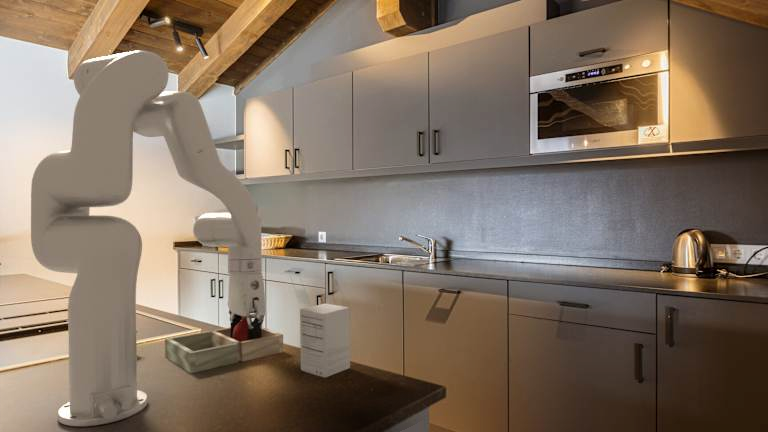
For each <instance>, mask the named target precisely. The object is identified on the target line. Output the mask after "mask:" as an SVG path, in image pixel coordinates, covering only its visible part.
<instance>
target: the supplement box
mask: <svg viewBox="0 0 768 432" xmlns="http://www.w3.org/2000/svg"><path fill="white" fill-rule="evenodd" d="M299 321H300V322H299V328H300V331H299V332H300V333H299V335H300V336H299V338H300V370H301V371H302V372H306V373H307V374H312V375H315V376H317V377H321V378H325V379H326V378H328V377H330V376H333V375H336V374H338V373H341V372H343V371H346V370H349V369H351V340H350V339H351V338H350V337H351V334H350V330H351V329H350V328H351V323H350V307H348V306H343V305H336V304H330V303H322V304H317V305H313V306H309V307H304V308H299Z"/></svg>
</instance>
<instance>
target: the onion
mask: <svg viewBox="0 0 768 432" xmlns="http://www.w3.org/2000/svg"><path fill="white" fill-rule="evenodd" d="M247 329H249V326H248V322H247V318H246V317H243V318H242V320H241V321H240V322H239V323H238V324H237V325H236V326H235V328H234V330H233V339H234V340H237V341H239V342H242V341H247Z"/></svg>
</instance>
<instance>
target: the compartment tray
mask: <svg viewBox="0 0 768 432" xmlns="http://www.w3.org/2000/svg"><path fill="white" fill-rule="evenodd" d="M282 353H284V334H282V333H280V332H277V331H274V330H271V329H269V328H266V327H264V326H262V327H261V338H257V339H252V340H247V341H242V342H239V341H237V340H234V339H232V338H231V326H229V327H224V328H218V329H213V330H212V331H210V330H208V331H201V332H196V333H189V334H184V335H179V336H174V337H168V338H164V358H166V359H168V360H170V361H171V362H173V363H174V364H175V365H177V366H178V367H180V368H182V369H183V370H185V371H186V372H187V373H189V374H195V373H198V372H202V371H206V370H212V369H216V368H220V367H224V366H229V365H232V364H237V363H239V362H240V361H241V362H246V361H247V362H248V361H252V360H254V359H255V360H256V359H259V358H263V357H269V356H272V355H276V354H282Z"/></svg>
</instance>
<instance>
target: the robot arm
mask: <svg viewBox="0 0 768 432" xmlns="http://www.w3.org/2000/svg"><path fill="white" fill-rule="evenodd" d="M168 81H169V68H168V65H167V63H166V62H165V60H164V59H163V58H162V57H161V56H160V55H158V54H157V53H155V52H152V51H147V50H133V51H129V52H128V51H126V52H122V53H116V54H112V55H108V56H101V57H96V58H91V59H87V60H84V61H82V62H81V63H80V64H79V65H78V66H77V67H76V69H75V71H74V74H73V84H74V88H75V90H76V92H77V94H78V95H79V98H78V100H77V102H76V105H75V109H74V113H73V119H72V120H73V121H72V123H73V124H72V132H71V133H72V137H71V147H70V150H62V151H61V150H60V151H57V152H53V153H50V154H49V155H46V156H45V157H44V158H43V159H42V160H40V162H39V163H38V165H37V166H36V167H35V170H34V173H33V175H32V179H31V185H30V186H31V189H30V192H31V193H30V243H31V248H32V253H33V255H34V257H35V258H36V261H37V262H38V263H39V264H40V265H41V266H42V267H44V268H45V269H46V270H50V271H53V272H57V273H58V272H59V273H65V274H76V277H75V280H74V283H73V284H72V287H71V290H70V293H69V297H68V304H67V321H68V322H67V323H68V324H67V326H68V330H67V331H68V333H67V334H68V380H69V381H68V385H69V386H68V387H69V388H68V392H69V393H68V394H69V396H68V397H69V401H68V402H67V403H65V404H63V405H62V406H61V407H60V408H59V409H58V410H57V420H58V422H59V423H61V424H63V425H65V426H69V427H92V426H93V427H94V426H100V425H101V426H102V425H106V424H110V423H113V422H118V421H121V420H124V419H127V418H130V417H132V416H134V415H136V414H137V413H139V412H141V411H142V410H144V409H145V407H146V406H147V405H148V402H149V399H148V395H147V394H146V392H144V391H142V390H139V389H138V364H137V363H138V361H137V357H138V355H137V354H138V353H137V352H138V351H137V350H138V348H137V347H138V345H137V344H138V343H137V341H138V340H137V334H136V330H137V281H138V272H139V268H140V263H141V257H142V252H143V241H142V237H141V233H140V232H139V230H138V229H137V227H136V226H135V225H134V224H133V223H131V222H130V221H128V220H126V219H125V218H122V217H119V216H112V215H99V214H98V215H97V214H96V215H90V211H91V209H90V208H106V207H114V206H119V205H120V204H122V203H124V202H126V201H127V200H128V199H129V197H130V196H131V193H132V190H133V189H132V187H133V179H134V178H133V177H134V176H133V174H134V173H133V171H134V170H133V169H134V168H133V167H134V165H133V159H134V158H133V157H134V156H133V155H134V154H133V153H134V144H133V143H134V134H137V135H139V136H142V137H145V138H157V137H158V138H159V137H163V139H164V140H165V143H166V146H167V147H168V148H167V149H168V150H169V153H170V155H171V158H172V161H173V164H174V166H175V169H176V171H177V174H178V176H179V177H180V178H182V179H183V180H185V181H186V182H189V183H190V184H192V185H194V186H196V187H198V188H199V189H203V190H204V191H206V192H208V193H210V194H212V195H213V196H215V197H216V198H217V199H219V201H220V202H221V203H222V204H223V205H224V206H225V208H226V209H227V211H223V212H221V211H220V212H215V211H214V212H208V213H207V212H206V213H204V214H202V215H200V216H199V217H198V218H197V219H195V222H194V223H193V228H192V229H193V230H192V232H193V235H194V238H195V239H196V241H197V242H199V243H200V244H202V245H204V246H207V247H212V248H215V247H217V248H227V273H228V274H229V278H228V279H229V280H228V294H227V295H228V297H227V299H228V301H227V306H228V314H229V321H230V327H231V338H232V339H233V330H234V328H235V326H236V325H237V324H238V323H239V322H240V321H241V320H242V318H243V317H246V318H247V322H248V326H249V329H247V340H252V339H257V338H261V327H263V322H264V320H265V319H264V318H265V316H266V295H265V293H266V292H265V284H264V278H263V277H264V276H263V273H262V270H263V268H262V267H263V266H262V263H263V261H262V257H263V256H262V253H263V252H262V246H263V245H262V218H261V216H260V214H259V213H258V211H257V208H256V207H257V206H256V203H255V201H254V199H253V197H252V195H251V193H250V191H249V190H248V188H247V187H246V186H245V185H244V184H243V183H242V181H240V180H239V178H238V177H237V176H236V175H235V174H234V173H232V172H231V170H229V169H228V168H227V167H226V166H225V165H223V162H222V161H221V159H220V157H219V154H218V150H217V148H216V145H215V142H214V138H213V136H212V133H211V130H210V127H209V125H208V122H207V119H206V116H205V113H204V111H203V107H202V104H201V103H200V101H199V99H198V98H197V97H196V96H195V95H194V94H192V93H191V92H188V91H183V90H171V91H170V90H169V91H165V89H166V87H167V85H168V84H169V83H168ZM252 319H253V320H252Z"/></svg>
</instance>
